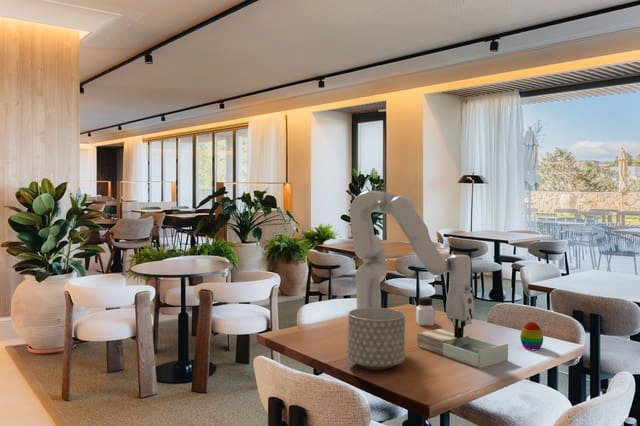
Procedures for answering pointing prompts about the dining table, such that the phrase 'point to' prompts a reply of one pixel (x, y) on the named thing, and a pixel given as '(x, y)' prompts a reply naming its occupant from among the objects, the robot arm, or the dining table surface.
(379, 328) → the planter
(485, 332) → the dining table surface
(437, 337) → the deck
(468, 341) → the tile rear
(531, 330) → the decorative egg
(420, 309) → the medicine bottle
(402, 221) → the robot arm
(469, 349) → the tile front
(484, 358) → the tray
